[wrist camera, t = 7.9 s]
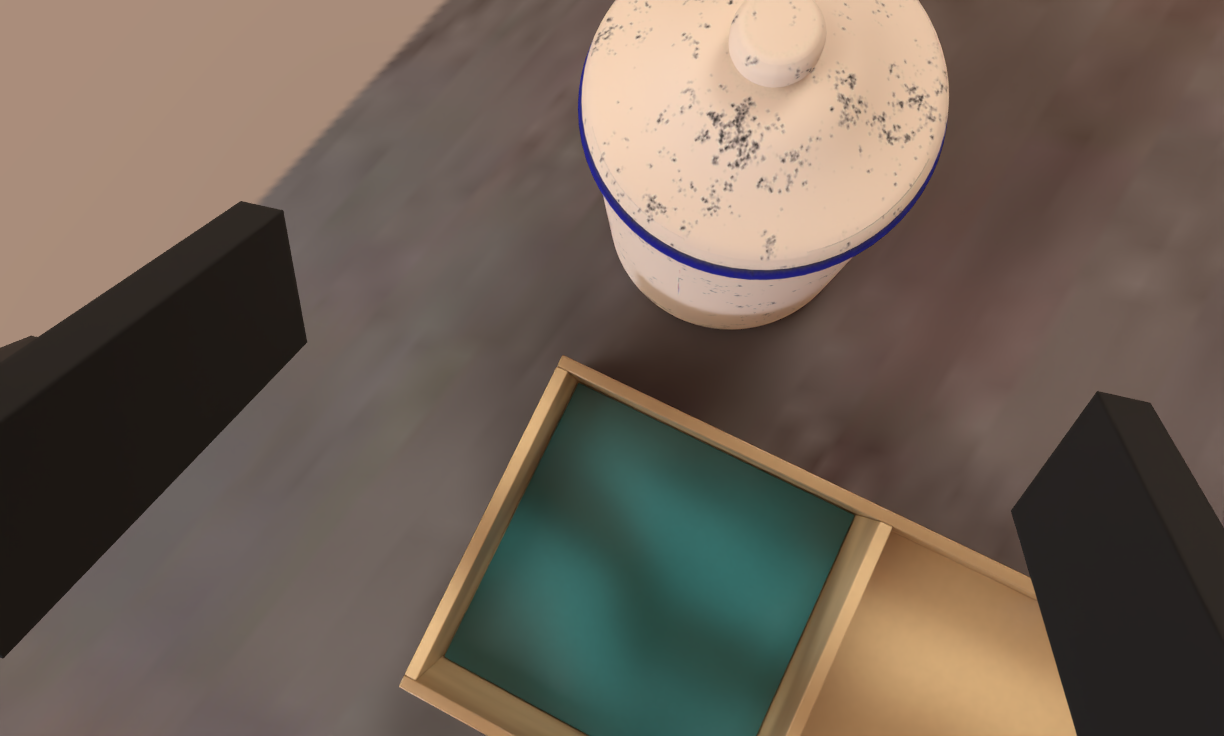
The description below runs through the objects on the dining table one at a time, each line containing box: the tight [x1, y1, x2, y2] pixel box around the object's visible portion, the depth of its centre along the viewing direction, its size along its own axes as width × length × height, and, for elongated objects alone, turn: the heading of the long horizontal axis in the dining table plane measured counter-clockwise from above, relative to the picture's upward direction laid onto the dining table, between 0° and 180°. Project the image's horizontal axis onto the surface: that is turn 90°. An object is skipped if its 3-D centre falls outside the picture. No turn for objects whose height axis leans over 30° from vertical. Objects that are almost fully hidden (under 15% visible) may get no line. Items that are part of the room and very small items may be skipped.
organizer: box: [399, 355, 1077, 736], centre depth 22 cm, size 11×22×3 cm, turn 64°
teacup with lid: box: [578, 0, 949, 329], centre depth 21 cm, size 12×9×12 cm
